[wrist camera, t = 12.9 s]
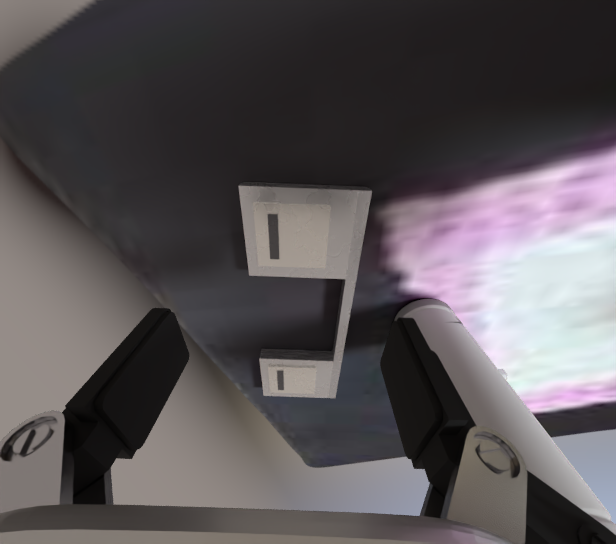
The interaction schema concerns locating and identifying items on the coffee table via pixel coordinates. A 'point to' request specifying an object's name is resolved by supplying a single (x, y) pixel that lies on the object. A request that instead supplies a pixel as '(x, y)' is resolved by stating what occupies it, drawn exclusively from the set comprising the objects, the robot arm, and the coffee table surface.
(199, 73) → the coffee table surface
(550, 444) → the travel mug
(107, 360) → the robot arm
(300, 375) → the panel
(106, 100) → the coffee table surface
